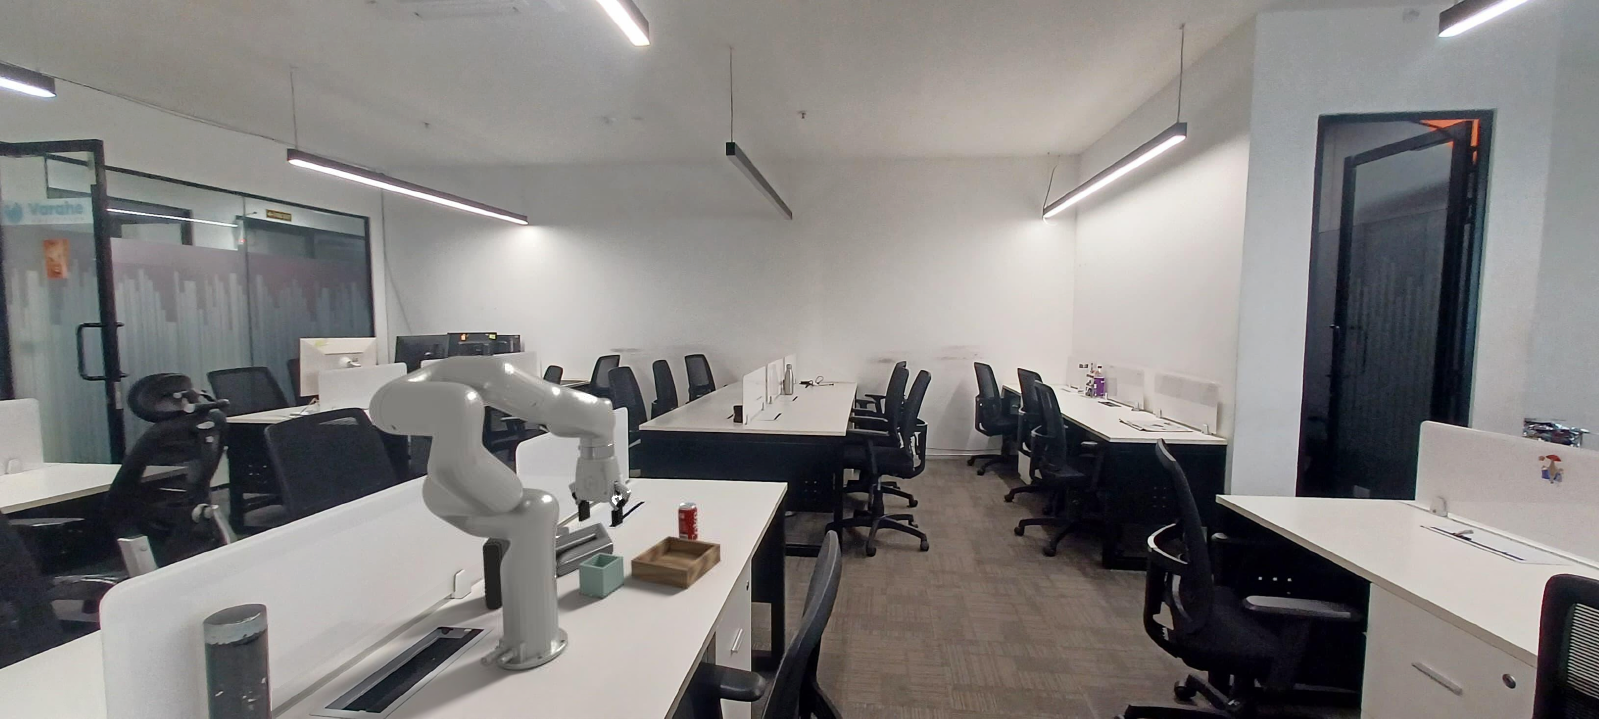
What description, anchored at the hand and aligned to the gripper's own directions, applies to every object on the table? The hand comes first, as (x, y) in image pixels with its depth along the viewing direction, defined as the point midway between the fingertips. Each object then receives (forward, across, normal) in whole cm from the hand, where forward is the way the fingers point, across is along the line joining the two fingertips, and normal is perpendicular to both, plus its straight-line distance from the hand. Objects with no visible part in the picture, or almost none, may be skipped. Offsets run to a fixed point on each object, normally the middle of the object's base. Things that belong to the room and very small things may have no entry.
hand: (600, 522), depth 128 cm
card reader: (+16, -19, -13) cm, 28 cm away
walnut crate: (+16, +11, +14) cm, 24 cm away
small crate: (+16, 0, -1) cm, 16 cm away
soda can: (+17, +6, +27) cm, 33 cm away
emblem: (+17, -24, +11) cm, 31 cm away
